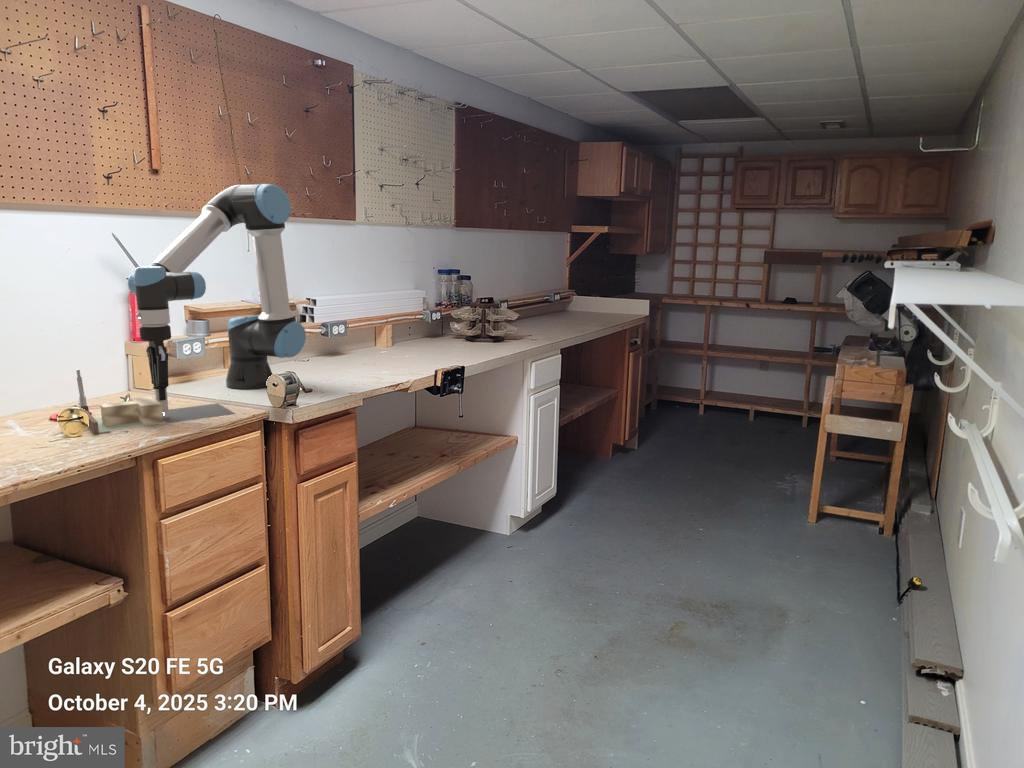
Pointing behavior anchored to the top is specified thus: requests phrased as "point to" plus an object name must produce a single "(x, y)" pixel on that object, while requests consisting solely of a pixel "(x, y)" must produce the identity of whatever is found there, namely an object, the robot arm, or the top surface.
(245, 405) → the top surface
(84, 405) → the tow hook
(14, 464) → the top surface
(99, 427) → the mat
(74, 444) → the top surface
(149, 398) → the t block
